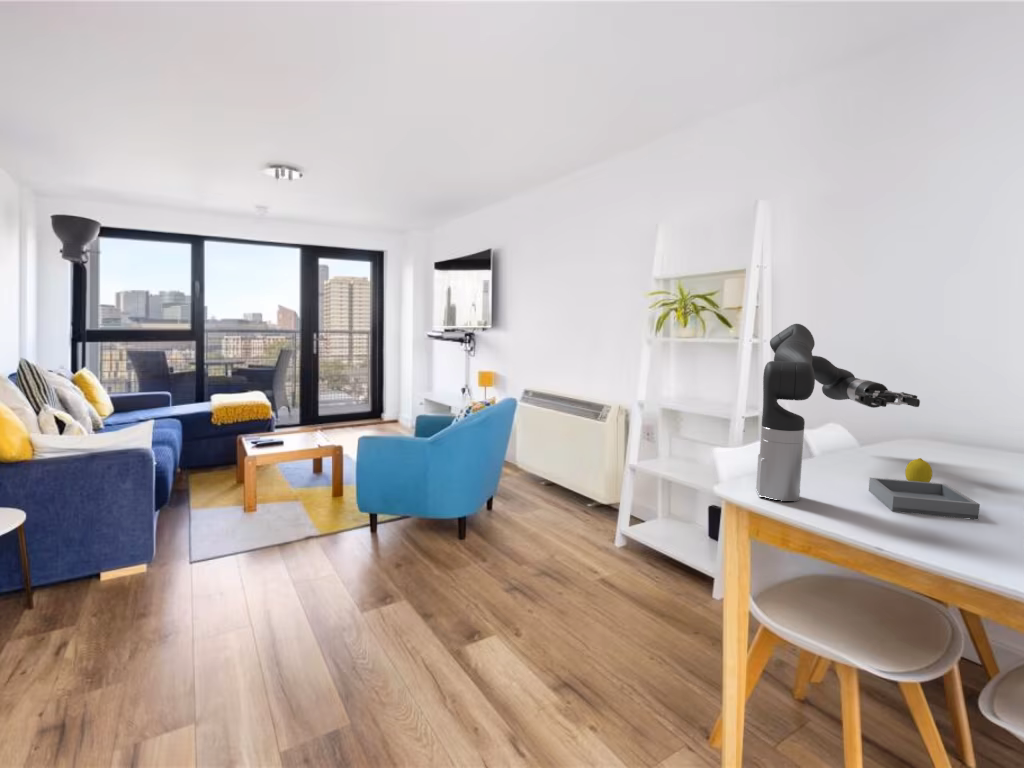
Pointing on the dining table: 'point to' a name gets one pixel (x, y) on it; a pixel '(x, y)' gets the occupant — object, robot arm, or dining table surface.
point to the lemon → (918, 471)
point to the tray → (923, 498)
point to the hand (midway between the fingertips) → (901, 403)
